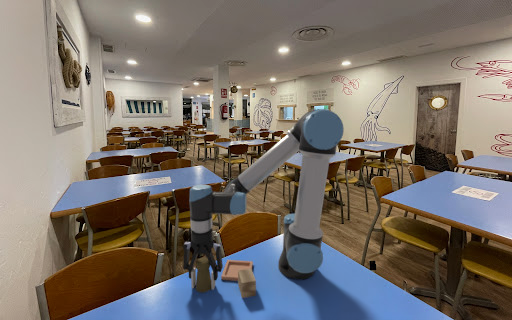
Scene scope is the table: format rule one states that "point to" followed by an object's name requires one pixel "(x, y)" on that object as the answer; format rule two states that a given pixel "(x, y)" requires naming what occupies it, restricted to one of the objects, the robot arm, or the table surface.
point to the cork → (203, 275)
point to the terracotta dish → (235, 269)
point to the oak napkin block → (246, 283)
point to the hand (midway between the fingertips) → (203, 286)
